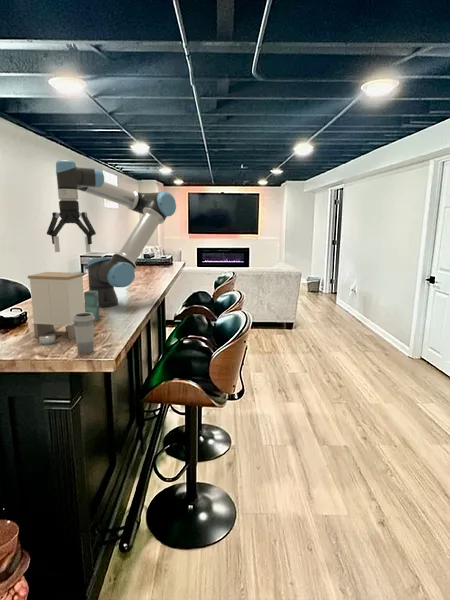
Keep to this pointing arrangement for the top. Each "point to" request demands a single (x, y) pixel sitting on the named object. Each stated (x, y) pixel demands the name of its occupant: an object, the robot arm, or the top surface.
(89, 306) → the teal mallet
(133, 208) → the robot arm
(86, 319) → the cup
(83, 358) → the top surface
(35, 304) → the cupboard
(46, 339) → the steel puck
